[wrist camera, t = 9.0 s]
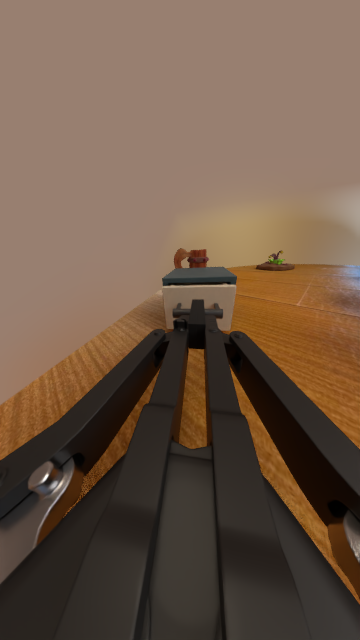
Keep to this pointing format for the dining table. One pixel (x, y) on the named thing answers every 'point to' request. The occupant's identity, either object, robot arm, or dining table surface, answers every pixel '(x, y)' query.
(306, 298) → the dining table surface
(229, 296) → the drawer
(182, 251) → the mug
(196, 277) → the cabinet
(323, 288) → the dining table surface
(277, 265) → the plant
